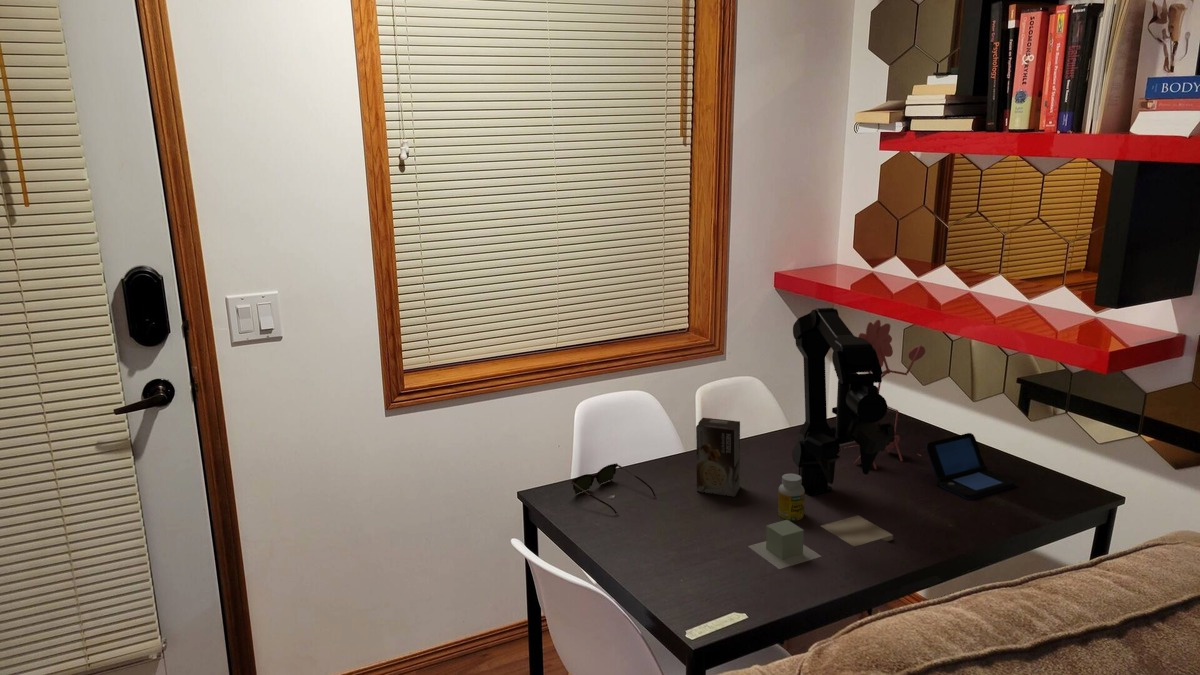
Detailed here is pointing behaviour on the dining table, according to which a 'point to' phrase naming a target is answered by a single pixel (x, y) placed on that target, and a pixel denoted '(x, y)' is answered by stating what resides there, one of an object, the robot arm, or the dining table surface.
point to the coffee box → (718, 456)
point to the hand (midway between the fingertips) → (848, 478)
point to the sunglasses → (599, 480)
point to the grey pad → (777, 562)
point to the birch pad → (857, 531)
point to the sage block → (784, 539)
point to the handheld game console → (964, 468)
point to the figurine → (881, 344)
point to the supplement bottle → (791, 497)
